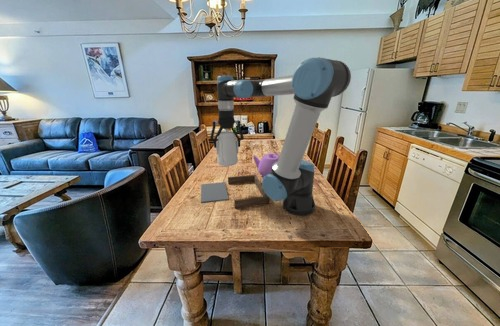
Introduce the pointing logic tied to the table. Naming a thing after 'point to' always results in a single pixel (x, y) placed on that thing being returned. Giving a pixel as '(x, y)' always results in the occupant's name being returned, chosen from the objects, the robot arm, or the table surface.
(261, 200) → the bracket
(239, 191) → the table surface
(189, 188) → the table surface
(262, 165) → the teapot
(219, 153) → the coffeepot
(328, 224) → the table surface
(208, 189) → the trivet
